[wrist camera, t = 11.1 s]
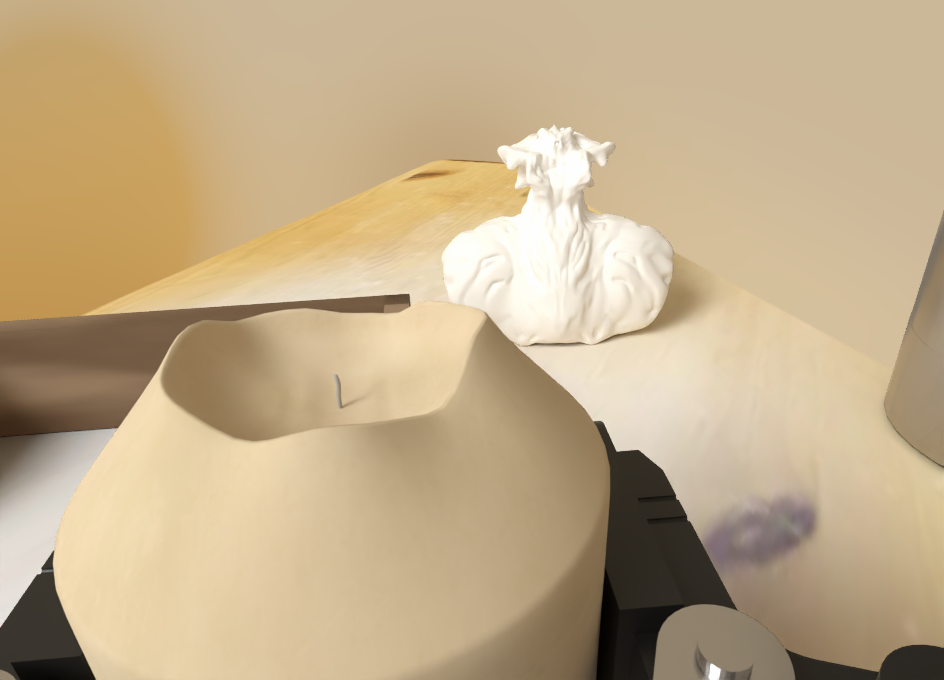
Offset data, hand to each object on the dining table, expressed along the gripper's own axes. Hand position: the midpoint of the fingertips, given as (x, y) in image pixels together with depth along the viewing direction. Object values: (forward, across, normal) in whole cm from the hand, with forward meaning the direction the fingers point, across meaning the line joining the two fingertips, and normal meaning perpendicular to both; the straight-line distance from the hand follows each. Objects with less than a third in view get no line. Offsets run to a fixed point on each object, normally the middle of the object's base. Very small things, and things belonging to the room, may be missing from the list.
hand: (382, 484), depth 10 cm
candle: (-3, 0, +6) cm, 7 cm away
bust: (+23, -7, +9) cm, 26 cm away
